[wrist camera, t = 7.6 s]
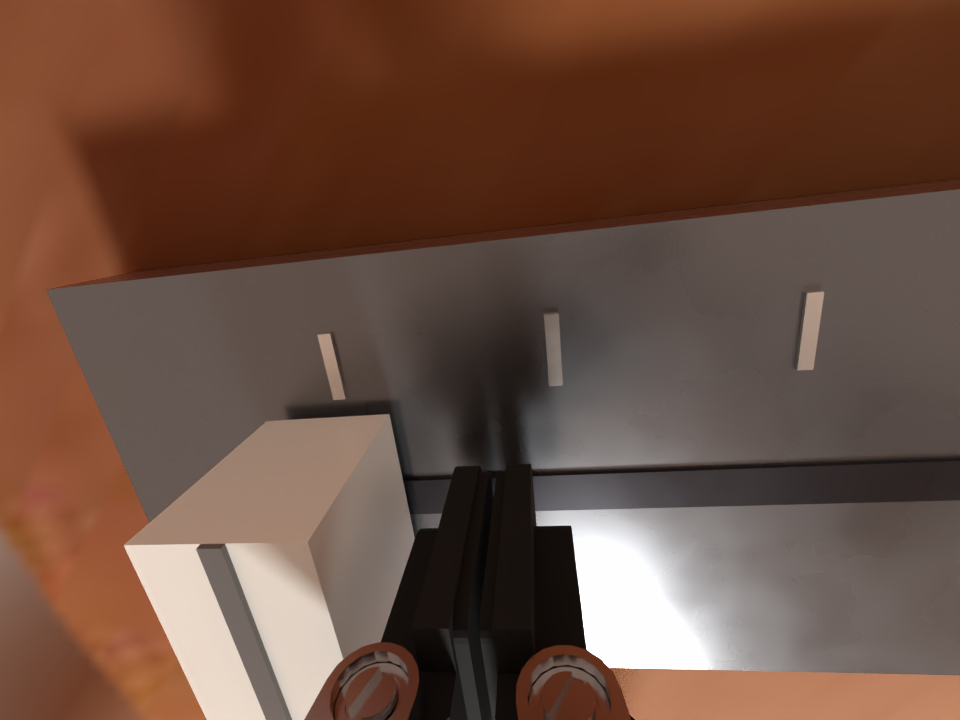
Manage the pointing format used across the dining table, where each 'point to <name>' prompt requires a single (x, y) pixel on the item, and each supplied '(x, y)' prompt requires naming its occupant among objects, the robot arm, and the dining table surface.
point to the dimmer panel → (613, 406)
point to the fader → (279, 563)
